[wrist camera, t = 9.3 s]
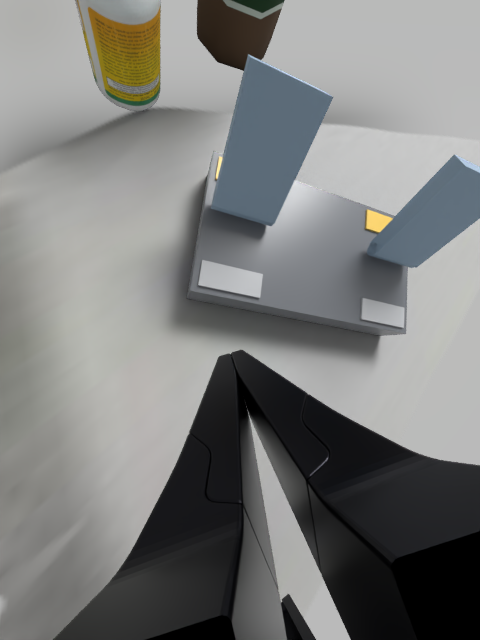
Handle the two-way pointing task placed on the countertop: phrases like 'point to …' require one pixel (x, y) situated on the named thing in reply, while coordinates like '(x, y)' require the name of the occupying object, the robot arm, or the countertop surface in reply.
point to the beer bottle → (237, 28)
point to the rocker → (267, 141)
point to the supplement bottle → (124, 49)
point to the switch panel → (300, 262)
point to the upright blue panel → (432, 216)
